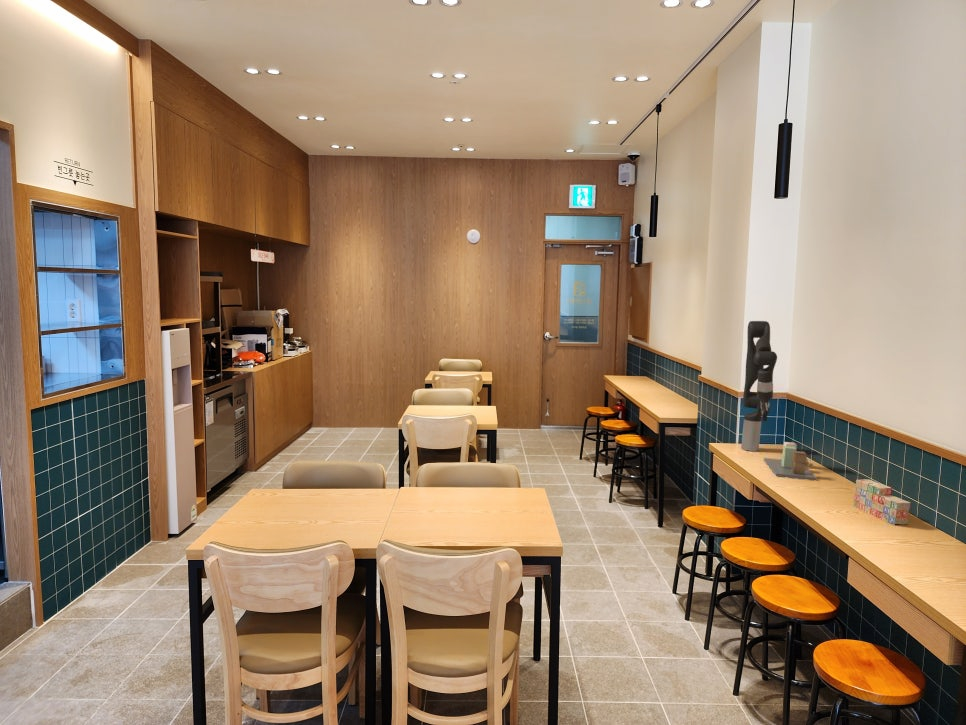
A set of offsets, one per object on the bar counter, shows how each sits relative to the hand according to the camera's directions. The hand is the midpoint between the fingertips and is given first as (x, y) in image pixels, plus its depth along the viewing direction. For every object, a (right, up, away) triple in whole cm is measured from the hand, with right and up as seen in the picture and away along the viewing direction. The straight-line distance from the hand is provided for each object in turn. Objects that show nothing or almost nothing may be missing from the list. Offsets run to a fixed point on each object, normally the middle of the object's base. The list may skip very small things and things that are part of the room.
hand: (764, 420), depth 333 cm
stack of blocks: (+16, -33, -71) cm, 80 cm away
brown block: (+9, -24, -17) cm, 31 cm away
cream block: (+13, -22, +2) cm, 26 cm away
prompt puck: (+23, -24, +8) cm, 34 cm away
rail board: (+9, -25, -7) cm, 27 cm away
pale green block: (+9, -23, -7) cm, 25 cm away
